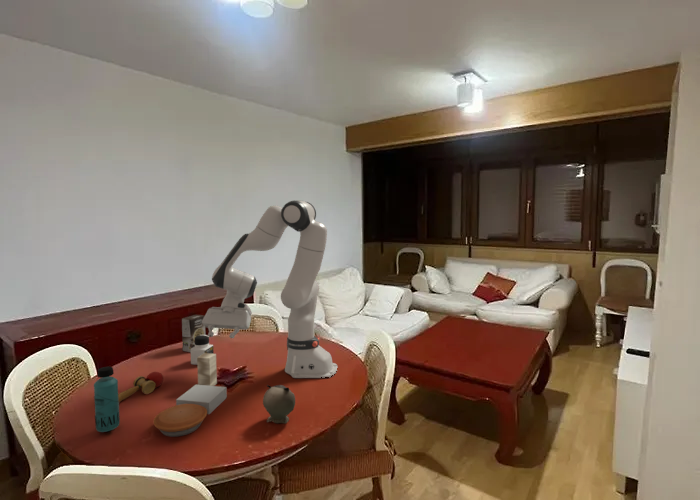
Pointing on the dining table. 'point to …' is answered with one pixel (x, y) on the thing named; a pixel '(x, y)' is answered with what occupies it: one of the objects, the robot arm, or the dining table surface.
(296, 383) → the dining table surface
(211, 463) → the dining table surface
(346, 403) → the dining table surface
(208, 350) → the medicine bottle
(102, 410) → the beverage bottle
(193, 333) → the coffee box
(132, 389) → the kendama
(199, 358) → the ash block
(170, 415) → the pie
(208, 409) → the grey base block
